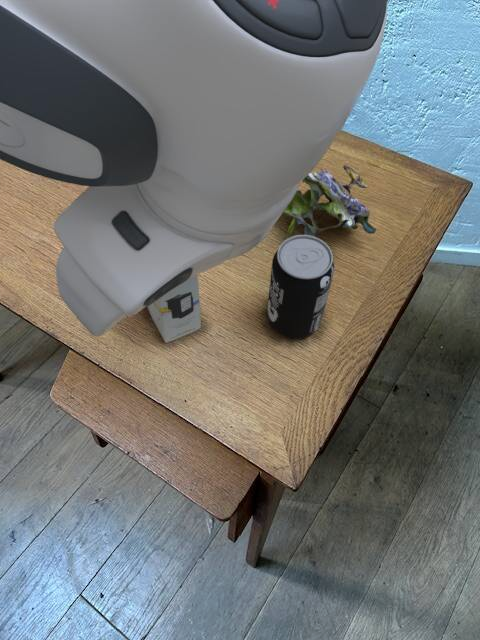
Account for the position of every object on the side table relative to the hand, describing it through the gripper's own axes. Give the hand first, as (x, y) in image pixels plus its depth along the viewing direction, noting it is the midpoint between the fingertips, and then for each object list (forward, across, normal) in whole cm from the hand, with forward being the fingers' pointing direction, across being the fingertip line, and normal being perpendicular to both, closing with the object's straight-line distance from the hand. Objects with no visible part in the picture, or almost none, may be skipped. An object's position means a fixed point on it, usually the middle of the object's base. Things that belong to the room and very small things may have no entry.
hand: (184, 255), depth 44 cm
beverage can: (+20, -11, +11) cm, 25 cm away
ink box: (+24, -1, 0) cm, 24 cm away
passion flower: (+24, -24, +4) cm, 34 cm away
